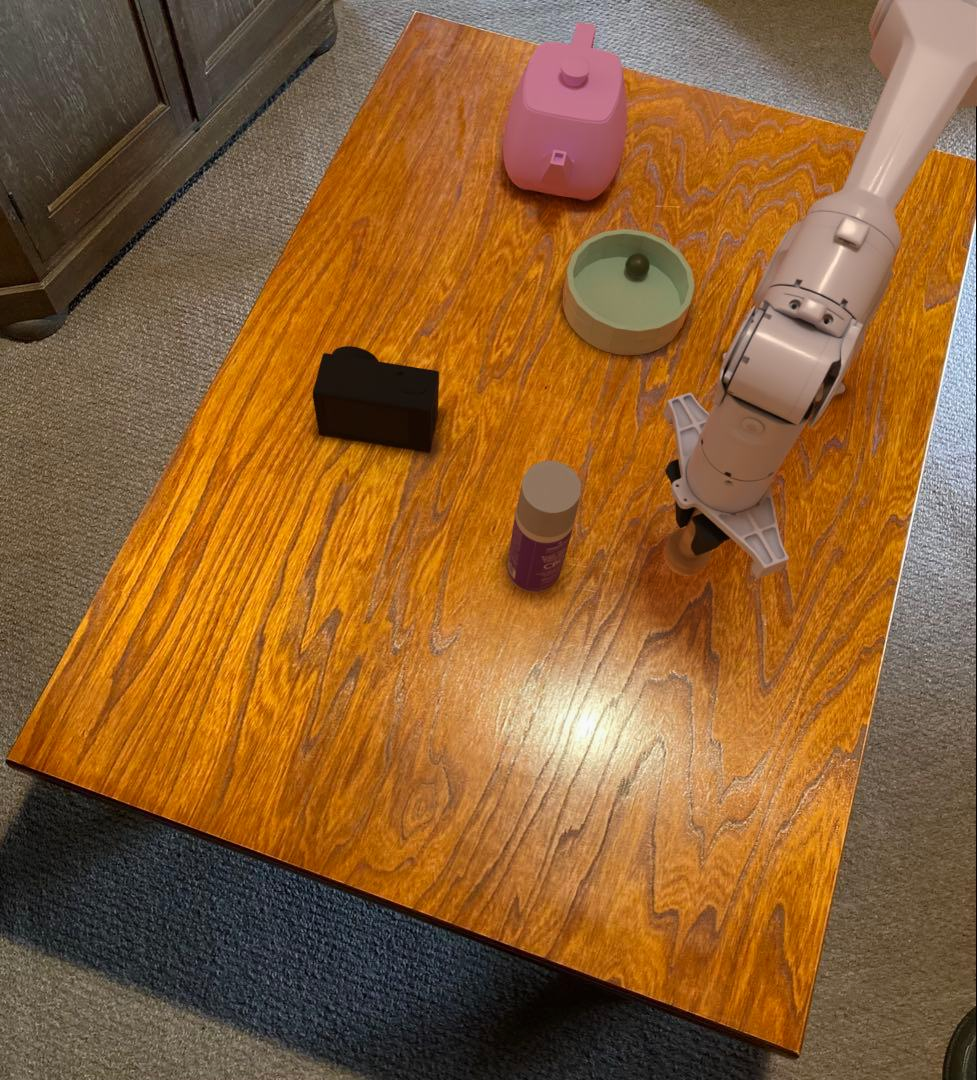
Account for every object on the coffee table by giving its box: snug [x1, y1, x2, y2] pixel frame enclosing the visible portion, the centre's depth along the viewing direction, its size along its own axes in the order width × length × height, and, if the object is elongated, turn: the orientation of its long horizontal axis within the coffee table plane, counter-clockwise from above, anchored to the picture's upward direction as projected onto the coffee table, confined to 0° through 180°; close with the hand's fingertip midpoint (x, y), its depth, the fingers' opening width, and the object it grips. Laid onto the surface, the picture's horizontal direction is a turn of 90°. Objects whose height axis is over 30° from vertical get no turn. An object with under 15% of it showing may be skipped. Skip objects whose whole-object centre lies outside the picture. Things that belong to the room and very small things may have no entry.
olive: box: [625, 253, 650, 278], centre depth 106 cm, size 2×2×2 cm
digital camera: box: [312, 345, 440, 453], centre depth 96 cm, size 10×5×7 cm, turn 81°
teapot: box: [502, 21, 628, 202], centre depth 108 cm, size 20×12×13 cm, turn 169°
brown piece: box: [663, 508, 713, 577], centre depth 83 cm, size 4×4×9 cm
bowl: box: [562, 228, 696, 356], centre depth 105 cm, size 12×12×4 cm
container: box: [506, 460, 582, 594], centre depth 86 cm, size 5×5×15 cm
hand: (696, 534), depth 84 cm, fingers closed on brown piece, 2 cm apart
